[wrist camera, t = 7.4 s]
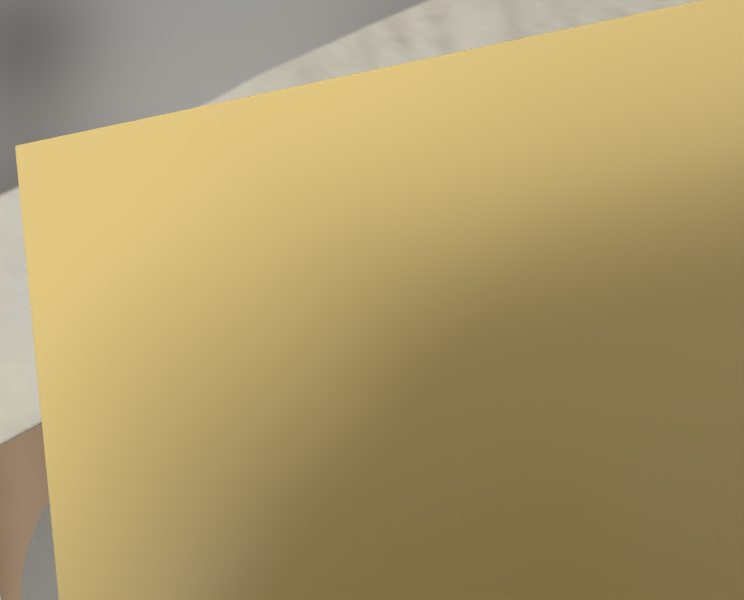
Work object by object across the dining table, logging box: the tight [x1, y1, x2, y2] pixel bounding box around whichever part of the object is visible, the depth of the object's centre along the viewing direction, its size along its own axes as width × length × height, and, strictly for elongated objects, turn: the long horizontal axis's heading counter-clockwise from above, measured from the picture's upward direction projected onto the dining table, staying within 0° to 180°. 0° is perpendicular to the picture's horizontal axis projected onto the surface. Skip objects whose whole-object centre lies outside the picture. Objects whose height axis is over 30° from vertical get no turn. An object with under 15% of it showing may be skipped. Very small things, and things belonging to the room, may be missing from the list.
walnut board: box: [0, 423, 49, 600], centre depth 20 cm, size 24×16×1 cm, turn 121°
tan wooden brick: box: [15, 0, 744, 600], centre depth 8 cm, size 6×6×12 cm
